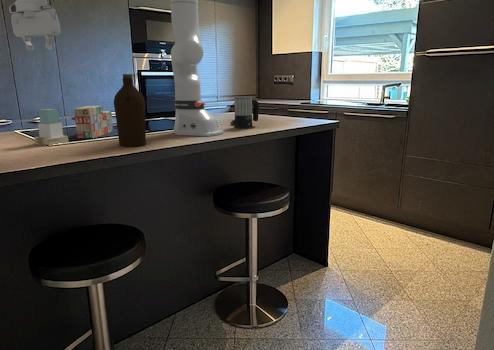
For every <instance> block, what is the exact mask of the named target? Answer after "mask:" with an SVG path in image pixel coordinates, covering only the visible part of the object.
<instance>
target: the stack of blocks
mask: <svg viewBox="0 0 494 350" xmlns="http://www.w3.org/2000/svg"><path fill="white" fill-rule="evenodd" d="M73 111H74V121H75V127H76V128H75V129H76V137H77V139H78V138H93V139H95V138H94V137H96V138H98V136H99V137H101V135H102V136H104V135H106V134H110V133H112V132H115V131H114V120H113V113H112V111H111V110H103V106H102V105H86V106H81V107H80V106H79V107H76V108H74V109H73Z"/></svg>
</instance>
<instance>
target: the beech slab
mask: <svg viewBox="0 0 494 350" xmlns="http://www.w3.org/2000/svg"><path fill="white" fill-rule="evenodd" d="M33 138H34V144H35V145H38V146H39V145H40V146H46V145H49V146H48V147H50V145H52V146H54V145H53V144H57V145H59V144H58V143H63V144H65V143H64V142H69V136H68V135H64V134H63V136H60V137H55V138H43V137H40V136H34V137H33Z"/></svg>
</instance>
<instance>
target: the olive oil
mask: <svg viewBox="0 0 494 350" xmlns="http://www.w3.org/2000/svg"><path fill="white" fill-rule="evenodd" d="M113 98H114V99H113V107H114V115H115V120H116V128H117V137H118V145H119V146H120V147H124V148H135V147H136V148H137V147H143V146H146V144H147V136H146V135H147V134H146V133H147V131H146V100H145V98H144V96H143V93H141V91H140V90H138V89H137V87H135V86H134V81H133V74H131V73H123V74H122V86H121V88H119V90H118V91H117V92H116V93H115V95H114V97H113Z"/></svg>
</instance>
